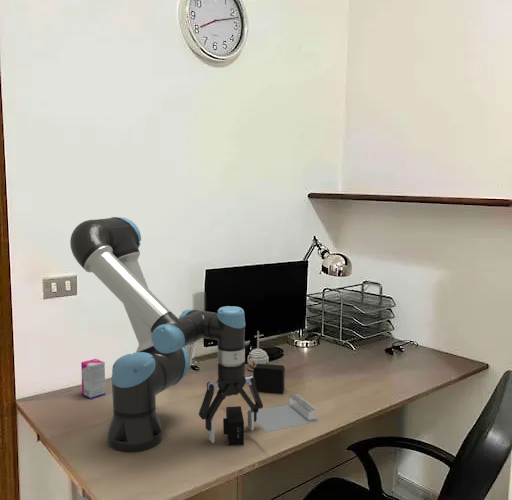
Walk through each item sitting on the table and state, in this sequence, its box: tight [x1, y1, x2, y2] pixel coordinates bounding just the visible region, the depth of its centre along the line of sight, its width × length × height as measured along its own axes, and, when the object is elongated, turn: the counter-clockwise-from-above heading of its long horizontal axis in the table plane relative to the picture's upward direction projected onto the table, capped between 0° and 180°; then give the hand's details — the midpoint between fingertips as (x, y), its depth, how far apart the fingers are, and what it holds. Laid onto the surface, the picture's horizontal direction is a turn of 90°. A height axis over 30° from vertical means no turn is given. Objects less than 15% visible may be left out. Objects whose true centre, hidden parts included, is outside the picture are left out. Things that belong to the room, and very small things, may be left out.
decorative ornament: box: [246, 330, 270, 372], centre depth 211 cm, size 8×8×15 cm
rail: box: [289, 393, 318, 421], centre depth 170 cm, size 3×12×4 cm, turn 25°
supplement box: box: [80, 358, 106, 400], centre depth 186 cm, size 6×6×12 cm
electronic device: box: [252, 363, 286, 395], centre depth 187 cm, size 4×10×10 cm, turn 78°
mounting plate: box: [246, 404, 321, 433], centre depth 167 cm, size 18×14×2 cm
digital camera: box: [222, 405, 245, 447], centre depth 157 cm, size 10×5×7 cm, turn 6°
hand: (231, 436), depth 157 cm, fingers open, 11 cm apart
